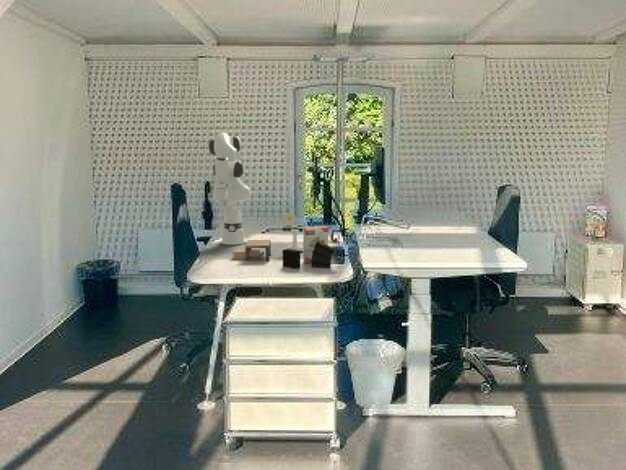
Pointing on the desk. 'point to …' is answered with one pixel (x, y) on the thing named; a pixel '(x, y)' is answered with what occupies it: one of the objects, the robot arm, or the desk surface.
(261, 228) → the desk surface
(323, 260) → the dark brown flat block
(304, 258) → the cracker box
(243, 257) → the brown wooden block
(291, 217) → the flower in vase
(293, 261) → the electronic device
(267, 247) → the small wooden table
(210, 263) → the desk surface
